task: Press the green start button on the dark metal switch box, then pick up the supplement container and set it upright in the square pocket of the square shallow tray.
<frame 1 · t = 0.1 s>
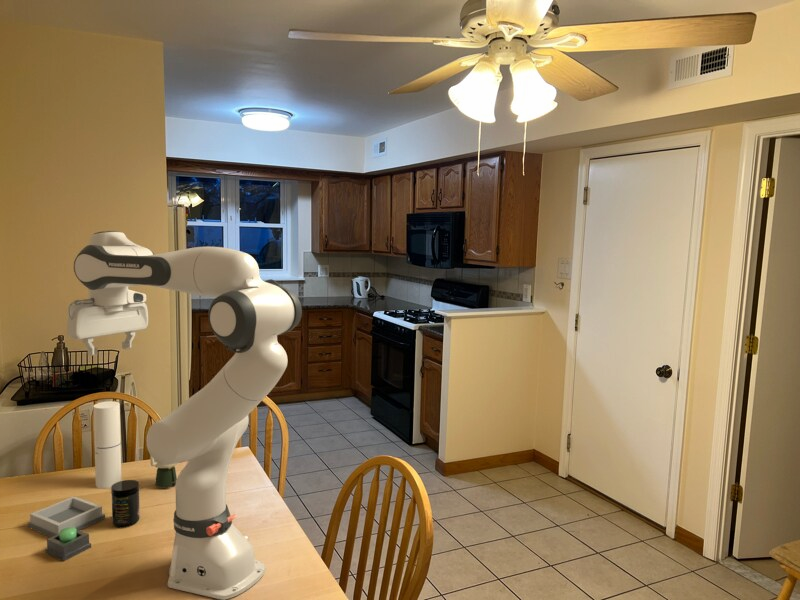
hand: (110, 351, 143), 48 cm above the table, tool pointing down, fingers open, 8 cm apart
square shallow tray: (67, 522, 152), on the table
start button: (68, 535, 139), point 4 cm above the table, slide at 0.0 cm
character mug: (166, 486, 176), on the table
supplement container: (126, 522, 154), on the table
cylindrical container: (108, 484, 176), on the table
button housing: (68, 550, 139), on the table
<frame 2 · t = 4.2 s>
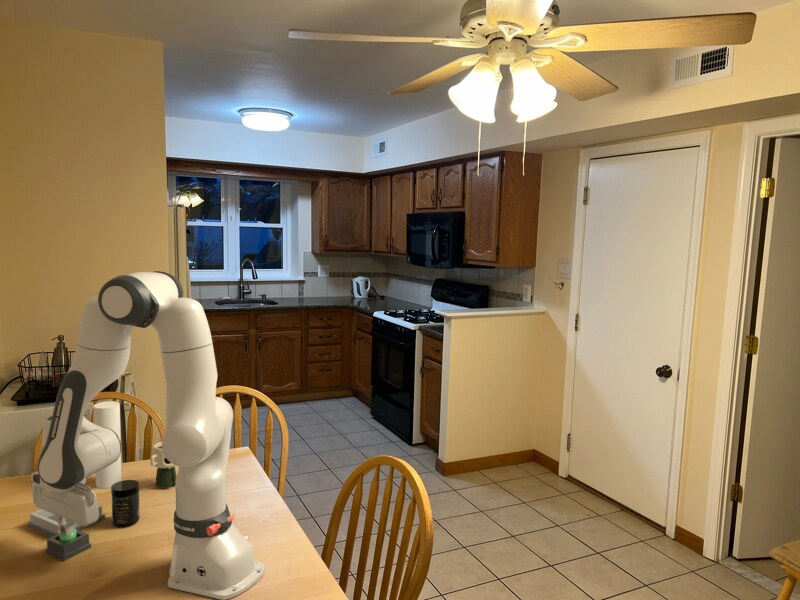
hand: (66, 532, 139), 5 cm above the table, tool pointing down, fingers closed, pressing on start button
start button: (68, 536, 139), point 3 cm above the table, slide at 0.3 cm, touching gripper
everything else where it was.
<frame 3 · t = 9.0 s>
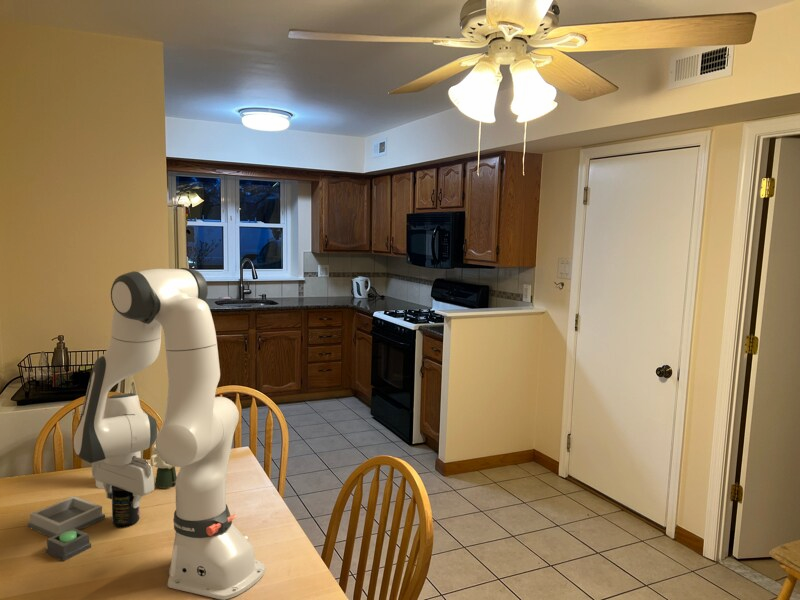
hand: (123, 502, 153), 6 cm above the table, tool pointing down, fingers open, 8 cm apart
start button: (68, 539, 139), point 3 cm above the table, slide at 0.9 cm
everything else where it was.
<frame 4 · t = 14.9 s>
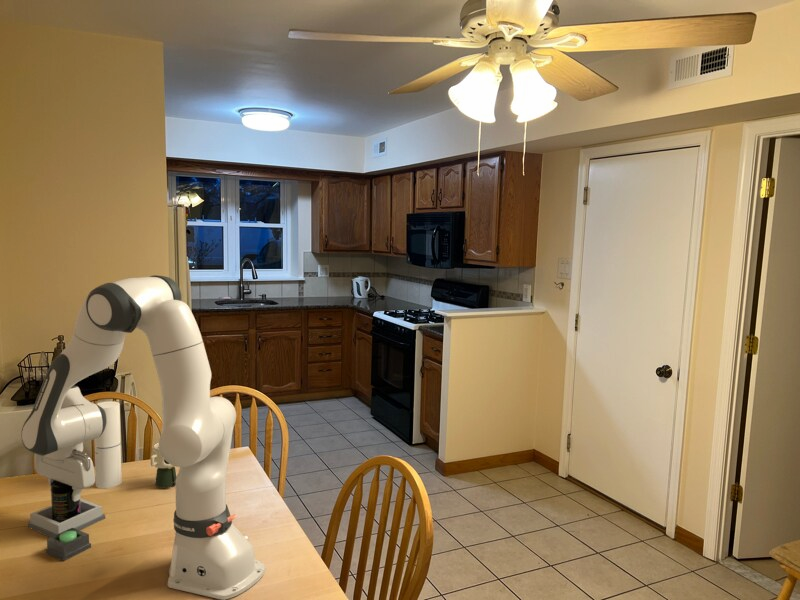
hand: (65, 496, 151), 7 cm above the table, tool pointing down, fingers closed on supplement container, 7 cm apart
supplement container: (66, 519, 152), point 1 cm above the table, touching gripper, square shallow tray
everything else where it was.
when the fingers open (7 cm above the table, at t = 15.5 s): supplement container stays where it is, resting on square shallow tray.
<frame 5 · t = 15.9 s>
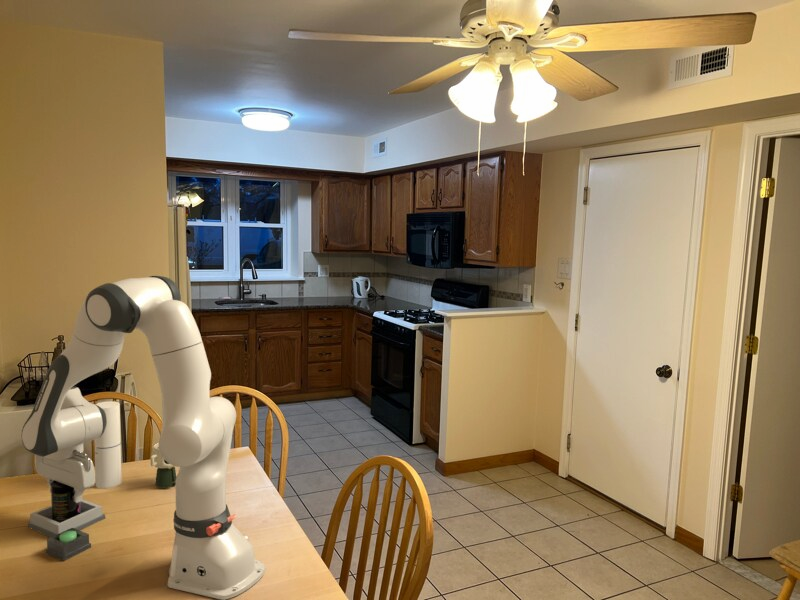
hand: (66, 497, 152), 7 cm above the table, tool pointing down, fingers open, 8 cm apart
supplement container: (66, 519, 152), point 1 cm above the table, touching square shallow tray
everything else where it was.
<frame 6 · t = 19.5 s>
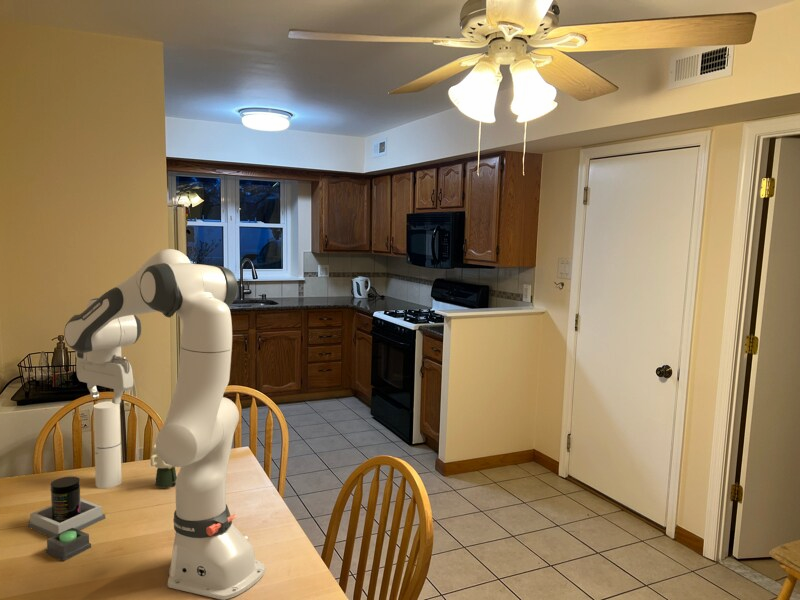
hand: (105, 400, 164), 29 cm above the table, tool pointing down, fingers open, 8 cm apart
nothing on the table moved.
at the end: start button slide at 0.9 cm; supplement container 0.1 cm off-centre on the square shallow tray, point 0.8 cm above the square shallow tray's base; supplement container tilted 1° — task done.
